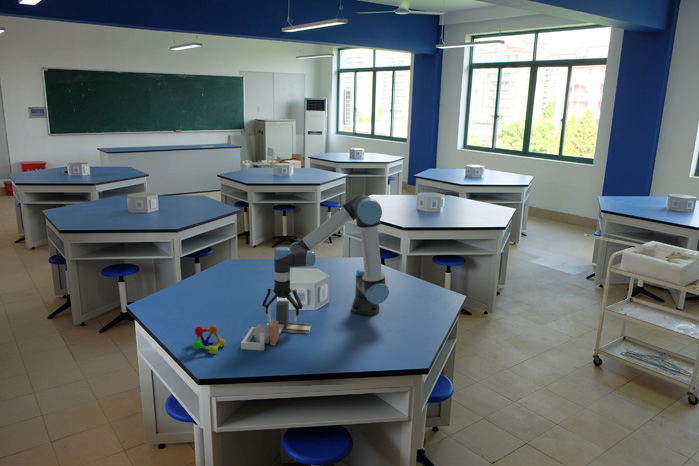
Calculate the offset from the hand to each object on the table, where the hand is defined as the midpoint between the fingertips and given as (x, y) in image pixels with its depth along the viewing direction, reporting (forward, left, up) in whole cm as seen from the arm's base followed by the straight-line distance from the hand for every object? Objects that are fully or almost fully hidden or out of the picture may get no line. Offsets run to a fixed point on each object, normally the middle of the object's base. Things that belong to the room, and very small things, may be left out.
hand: (282, 320), depth 253 cm
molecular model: (+28, +27, -4) cm, 39 cm away
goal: (+8, +16, -4) cm, 18 cm away
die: (+5, +16, -4) cm, 17 cm away
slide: (-3, 0, -4) cm, 5 cm away
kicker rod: (0, +8, -4) cm, 9 cm away
